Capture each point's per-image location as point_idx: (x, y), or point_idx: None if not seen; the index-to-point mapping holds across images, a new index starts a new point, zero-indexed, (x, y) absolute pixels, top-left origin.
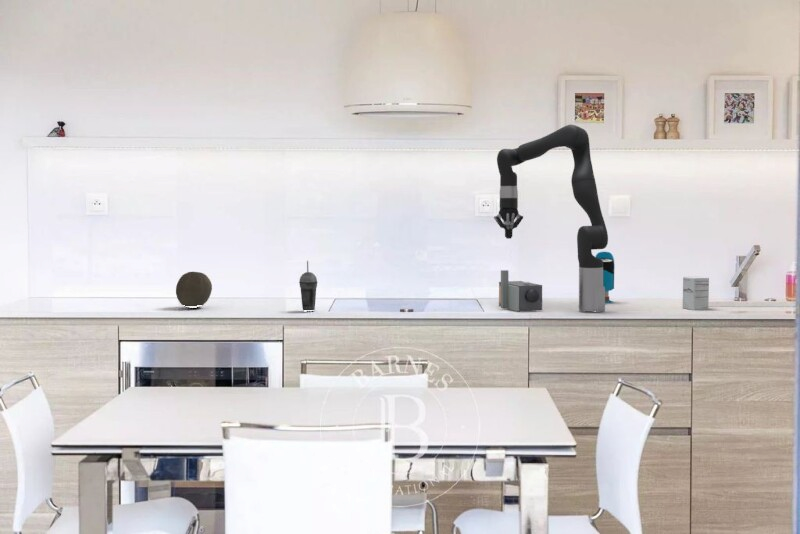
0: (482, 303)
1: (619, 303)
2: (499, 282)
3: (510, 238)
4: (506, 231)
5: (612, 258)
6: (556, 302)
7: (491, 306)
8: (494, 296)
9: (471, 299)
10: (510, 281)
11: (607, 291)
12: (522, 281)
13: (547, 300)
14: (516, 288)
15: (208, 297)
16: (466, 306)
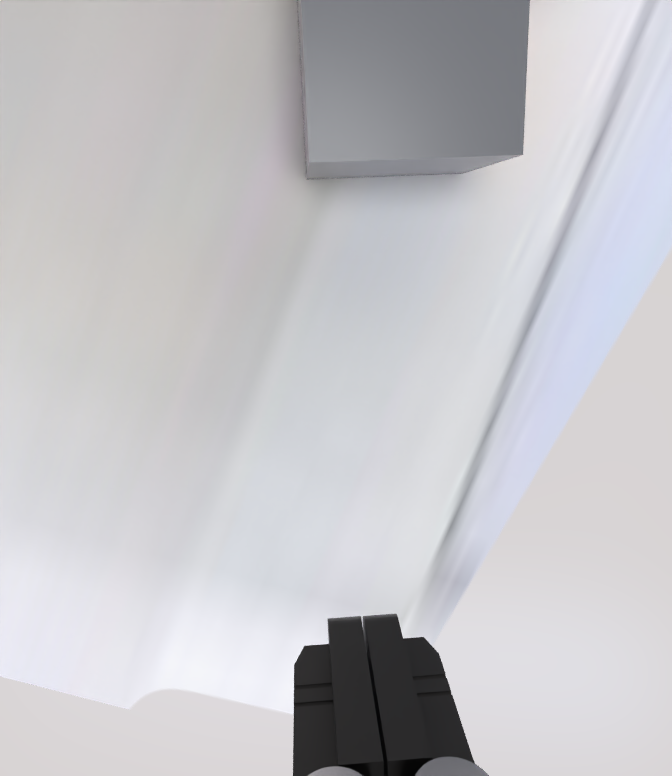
0: (491, 365)
1: None
2: (520, 147)
3: (337, 624)
4: (459, 733)
5: None
6: (6, 270)
7: (512, 181)
8: (277, 684)
9: (461, 580)
10: (416, 146)
11: None
12: (312, 105)
13: (31, 403)
14: None
15: None
16: (654, 235)
